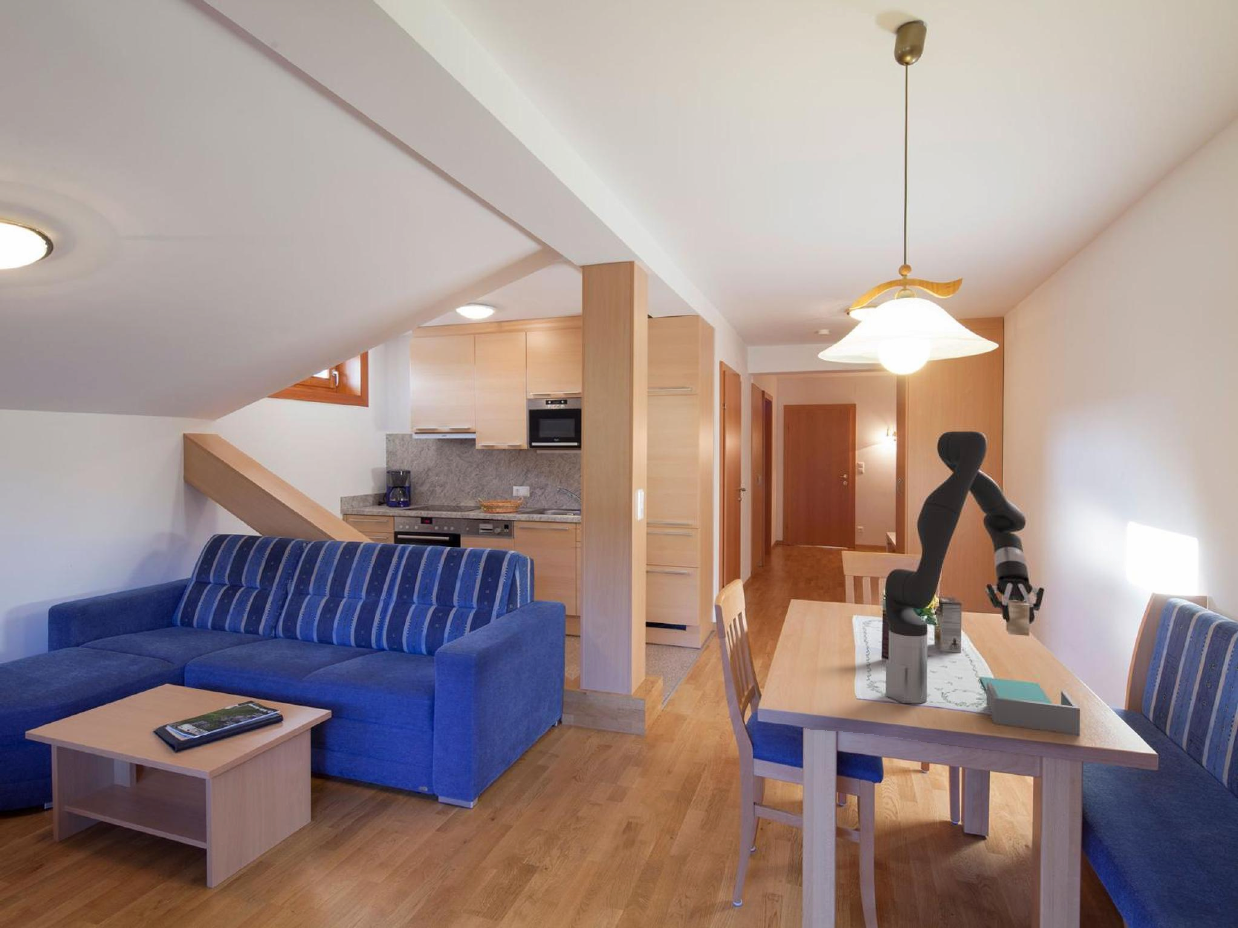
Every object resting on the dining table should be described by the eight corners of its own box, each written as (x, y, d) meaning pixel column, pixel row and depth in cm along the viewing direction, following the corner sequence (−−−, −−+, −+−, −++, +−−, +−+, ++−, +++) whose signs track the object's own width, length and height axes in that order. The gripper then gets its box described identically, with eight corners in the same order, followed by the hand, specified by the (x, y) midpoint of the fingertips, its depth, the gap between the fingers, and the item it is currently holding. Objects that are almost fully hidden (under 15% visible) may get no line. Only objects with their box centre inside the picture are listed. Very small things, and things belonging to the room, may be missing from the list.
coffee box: (933, 643, 222) (933, 596, 222) (953, 644, 221) (954, 597, 220) (940, 651, 213) (941, 602, 213) (962, 652, 212) (962, 603, 211)
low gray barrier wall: (994, 723, 155) (994, 698, 155) (986, 705, 166) (986, 682, 166) (1079, 734, 149) (1080, 708, 149) (1065, 715, 160) (1065, 690, 160)
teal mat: (990, 700, 170) (990, 698, 170) (980, 678, 187) (980, 676, 187) (1053, 708, 165) (1053, 705, 165) (1037, 685, 182) (1037, 682, 182)
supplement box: (891, 664, 199) (891, 612, 199) (880, 659, 204) (881, 608, 204) (915, 662, 201) (915, 610, 201) (904, 657, 206) (905, 607, 206)
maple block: (1009, 634, 172) (1009, 603, 172) (1006, 629, 176) (1006, 600, 176) (1029, 635, 170) (1029, 605, 170) (1025, 631, 175) (1025, 601, 175)
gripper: (983, 558, 183) (989, 611, 172) (1043, 560, 177) (1053, 615, 166) (980, 573, 188) (986, 626, 177) (1038, 577, 182) (1048, 631, 171)
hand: (1019, 620), depth 172 cm, fingers closed on maple block, 4 cm apart
